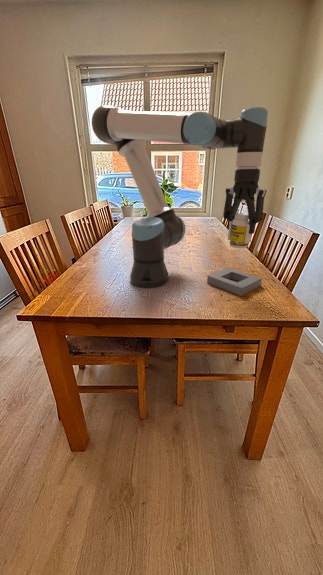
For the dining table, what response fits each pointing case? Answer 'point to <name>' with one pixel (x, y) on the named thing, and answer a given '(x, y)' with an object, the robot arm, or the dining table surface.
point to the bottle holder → (240, 288)
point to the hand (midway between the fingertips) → (239, 240)
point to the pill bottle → (239, 231)
